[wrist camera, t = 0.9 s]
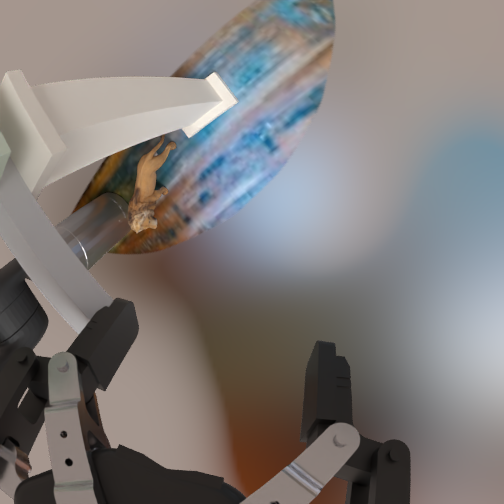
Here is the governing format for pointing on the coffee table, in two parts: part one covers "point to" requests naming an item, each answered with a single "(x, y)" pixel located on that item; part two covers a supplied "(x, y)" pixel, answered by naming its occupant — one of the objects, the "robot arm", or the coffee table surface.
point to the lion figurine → (147, 189)
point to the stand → (98, 118)
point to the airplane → (45, 250)
